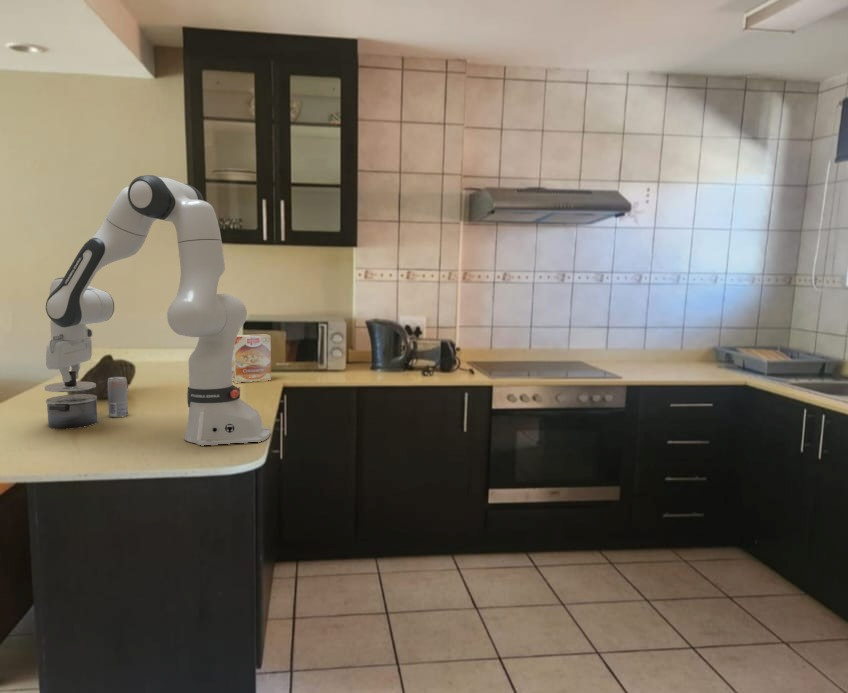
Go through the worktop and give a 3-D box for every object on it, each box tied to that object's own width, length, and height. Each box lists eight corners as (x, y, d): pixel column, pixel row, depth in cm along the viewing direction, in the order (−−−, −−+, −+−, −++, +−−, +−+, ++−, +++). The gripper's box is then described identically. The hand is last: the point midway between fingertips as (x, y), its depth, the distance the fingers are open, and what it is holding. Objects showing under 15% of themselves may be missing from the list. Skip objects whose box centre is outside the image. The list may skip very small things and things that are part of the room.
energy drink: (123, 413, 196) (121, 376, 194) (131, 415, 192) (129, 378, 191) (106, 416, 191) (104, 378, 190) (113, 418, 188) (112, 380, 187)
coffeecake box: (235, 383, 251) (234, 336, 249) (231, 381, 257) (230, 334, 255) (271, 381, 259) (271, 335, 256) (266, 378, 265) (266, 333, 262)
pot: (108, 416, 190) (107, 392, 190) (82, 431, 173) (81, 404, 172) (64, 417, 189) (63, 392, 188) (33, 431, 172) (32, 404, 171)
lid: (103, 384, 187) (102, 368, 186) (83, 392, 174) (82, 375, 173) (58, 383, 186) (58, 368, 185) (35, 391, 173) (34, 375, 172)
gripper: (62, 336, 168) (64, 386, 170) (95, 330, 188) (97, 374, 190) (38, 336, 167) (40, 386, 169) (73, 330, 188) (75, 374, 189)
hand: (70, 380), depth 180 cm, fingers closed on lid, 3 cm apart
